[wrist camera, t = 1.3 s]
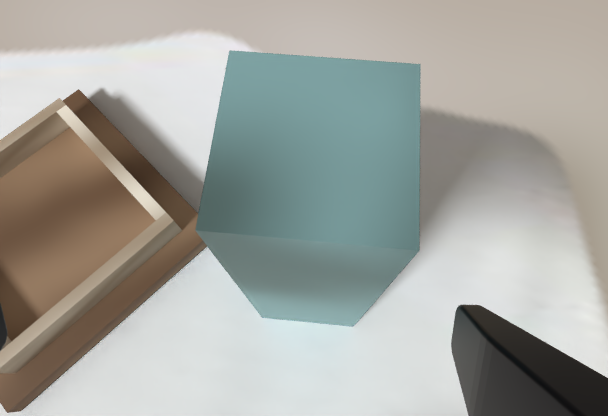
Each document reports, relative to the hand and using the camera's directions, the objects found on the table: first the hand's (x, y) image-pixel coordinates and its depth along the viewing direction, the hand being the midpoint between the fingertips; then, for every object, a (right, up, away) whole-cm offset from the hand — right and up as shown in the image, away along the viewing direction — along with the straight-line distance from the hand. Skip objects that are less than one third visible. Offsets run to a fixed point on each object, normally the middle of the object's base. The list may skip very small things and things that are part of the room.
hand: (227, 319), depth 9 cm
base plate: (-12, +1, +15) cm, 19 cm away
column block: (+2, -1, +14) cm, 14 cm away
